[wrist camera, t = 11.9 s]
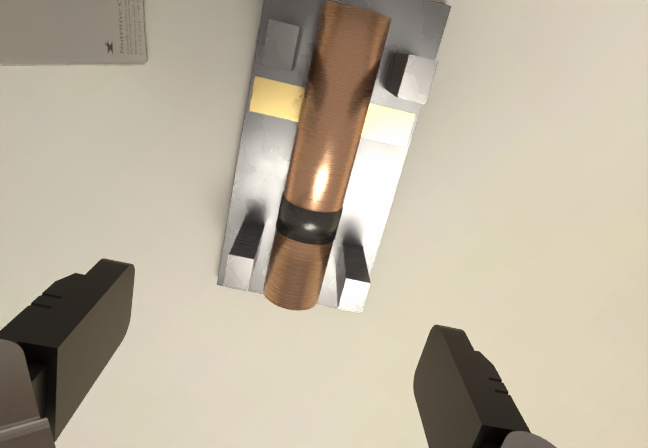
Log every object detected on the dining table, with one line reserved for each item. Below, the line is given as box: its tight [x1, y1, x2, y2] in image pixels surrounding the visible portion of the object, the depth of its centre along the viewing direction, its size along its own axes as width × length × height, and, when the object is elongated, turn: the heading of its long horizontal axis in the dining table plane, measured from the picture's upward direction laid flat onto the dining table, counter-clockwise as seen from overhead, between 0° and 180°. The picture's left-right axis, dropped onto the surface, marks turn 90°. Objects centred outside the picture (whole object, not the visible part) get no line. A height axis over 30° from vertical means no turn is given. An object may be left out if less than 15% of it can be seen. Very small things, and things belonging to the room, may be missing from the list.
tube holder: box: [217, 0, 451, 313], centre depth 26 cm, size 20×10×6 cm, turn 167°
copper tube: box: [263, 1, 392, 310], centre depth 26 cm, size 17×4×4 cm, turn 167°
